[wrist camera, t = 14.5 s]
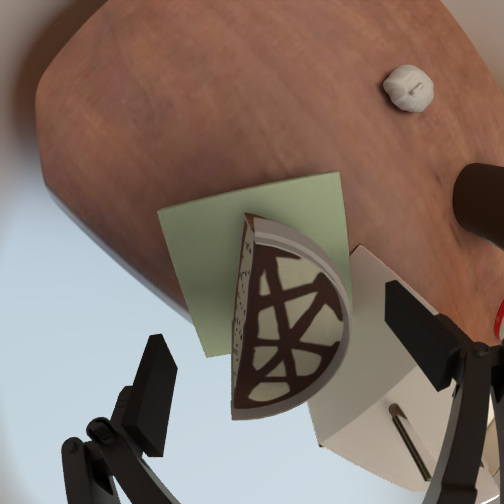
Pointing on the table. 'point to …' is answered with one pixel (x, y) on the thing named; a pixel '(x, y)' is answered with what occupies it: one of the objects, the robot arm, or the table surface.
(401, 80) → the garlic
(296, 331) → the food container
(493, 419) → the gable box
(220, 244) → the stand
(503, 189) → the olive oil
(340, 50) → the table surface
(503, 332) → the kitchen timer
